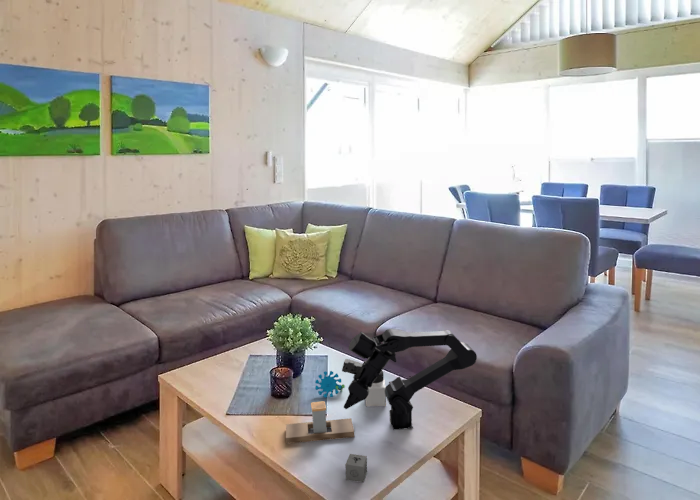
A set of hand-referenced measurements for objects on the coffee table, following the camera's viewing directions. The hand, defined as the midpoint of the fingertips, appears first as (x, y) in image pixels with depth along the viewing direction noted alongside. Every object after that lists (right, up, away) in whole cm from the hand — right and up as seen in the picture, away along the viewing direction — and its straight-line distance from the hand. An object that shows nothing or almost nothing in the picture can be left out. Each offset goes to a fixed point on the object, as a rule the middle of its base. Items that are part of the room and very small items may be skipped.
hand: (346, 403), depth 169 cm
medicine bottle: (+10, -5, +19) cm, 22 cm away
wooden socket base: (-9, -10, 0) cm, 13 cm away
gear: (-6, -4, +26) cm, 27 cm away
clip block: (-9, -10, 0) cm, 13 cm away
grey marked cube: (+3, -14, -21) cm, 26 cm away
